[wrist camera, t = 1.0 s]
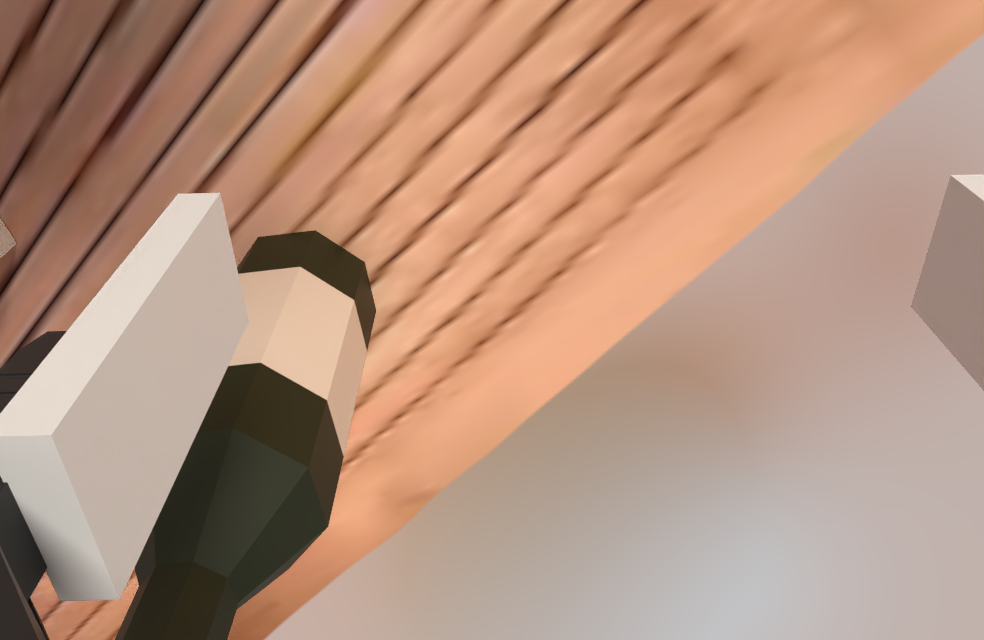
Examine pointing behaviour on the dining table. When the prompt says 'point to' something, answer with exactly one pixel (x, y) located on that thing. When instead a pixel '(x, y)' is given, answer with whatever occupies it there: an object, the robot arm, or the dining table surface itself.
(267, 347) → the wine bottle
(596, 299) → the dining table surface
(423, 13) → the dining table surface
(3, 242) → the block
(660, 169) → the dining table surface
